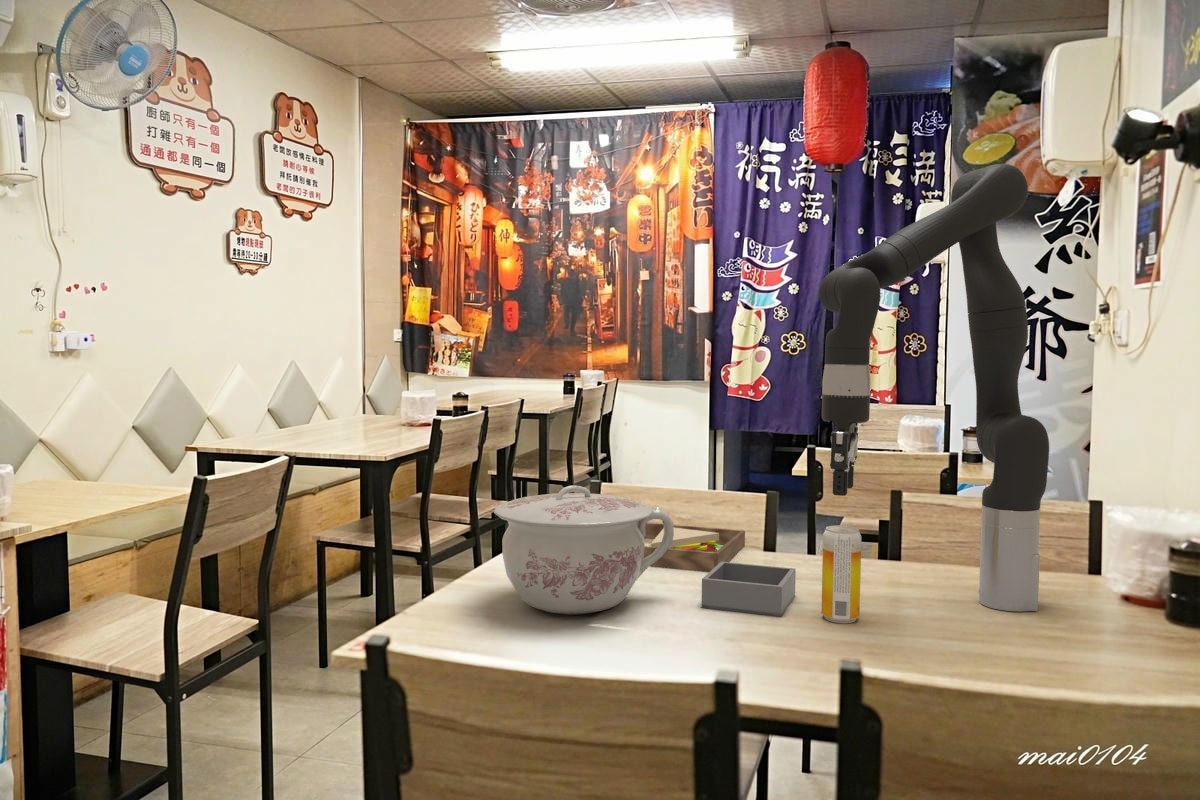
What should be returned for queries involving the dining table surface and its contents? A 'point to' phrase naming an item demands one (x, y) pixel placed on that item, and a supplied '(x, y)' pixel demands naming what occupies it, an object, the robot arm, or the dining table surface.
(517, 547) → the chamber pot
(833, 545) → the beer can
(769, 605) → the box
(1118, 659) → the dining table surface
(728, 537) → the serving board rim
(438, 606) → the dining table surface
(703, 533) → the sandwich
